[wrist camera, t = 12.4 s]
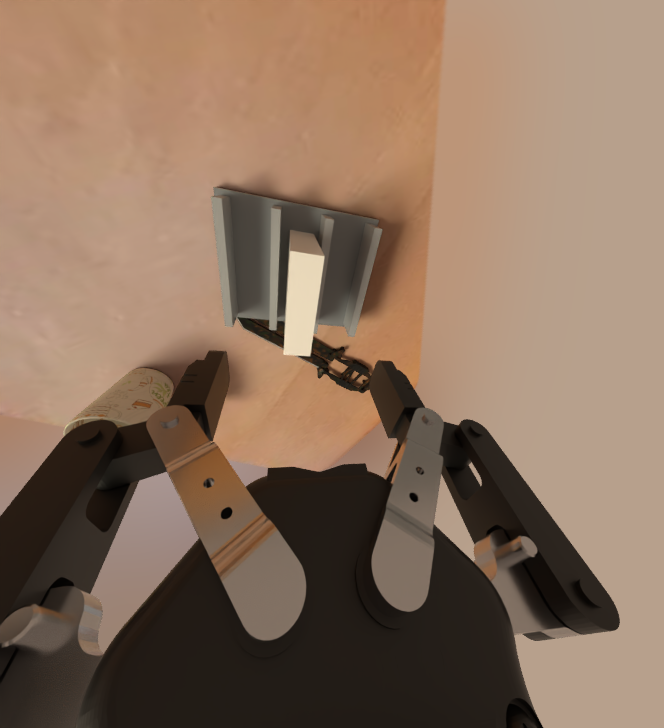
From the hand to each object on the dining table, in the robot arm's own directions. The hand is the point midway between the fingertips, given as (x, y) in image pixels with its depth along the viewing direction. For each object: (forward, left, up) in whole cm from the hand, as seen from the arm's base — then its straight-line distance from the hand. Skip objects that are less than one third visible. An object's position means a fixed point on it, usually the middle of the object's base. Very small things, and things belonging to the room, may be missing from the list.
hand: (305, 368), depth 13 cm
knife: (+12, +3, -20) cm, 24 cm away
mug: (+20, -18, -20) cm, 33 cm away
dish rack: (0, 0, -19) cm, 19 cm away
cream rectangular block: (0, 0, -18) cm, 18 cm away
